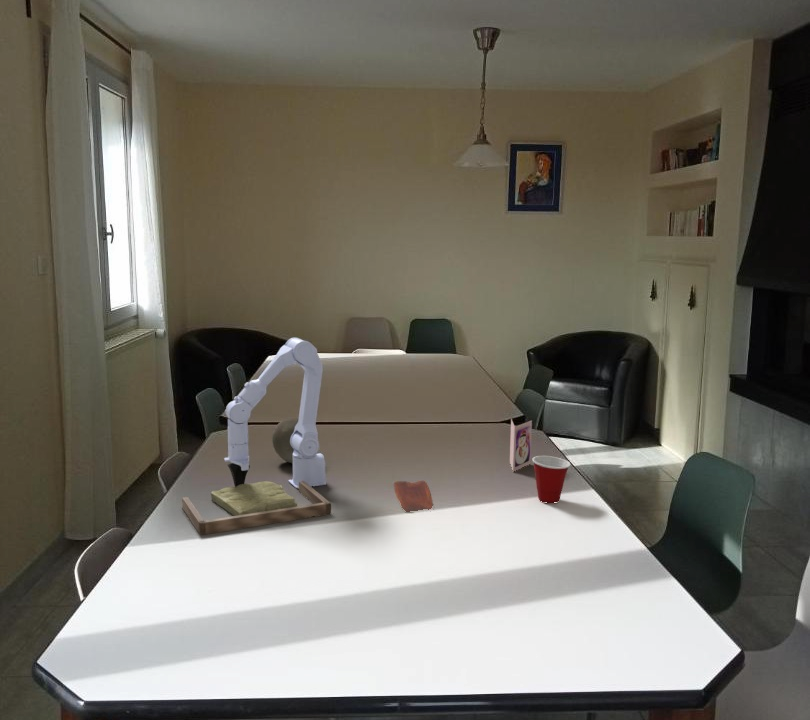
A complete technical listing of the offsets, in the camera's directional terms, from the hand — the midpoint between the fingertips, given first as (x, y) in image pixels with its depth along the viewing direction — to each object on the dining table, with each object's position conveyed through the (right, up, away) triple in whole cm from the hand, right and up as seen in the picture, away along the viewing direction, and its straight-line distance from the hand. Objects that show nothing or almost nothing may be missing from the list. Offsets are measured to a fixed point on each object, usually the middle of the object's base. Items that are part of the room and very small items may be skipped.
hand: (239, 487), depth 226 cm
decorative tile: (+6, -4, -8) cm, 11 cm away
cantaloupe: (+12, +3, +30) cm, 32 cm away
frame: (+8, -4, -15) cm, 17 cm away
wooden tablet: (+51, -3, -1) cm, 51 cm away
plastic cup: (+90, -3, -4) cm, 90 cm away
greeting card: (+84, +2, +29) cm, 89 cm away
